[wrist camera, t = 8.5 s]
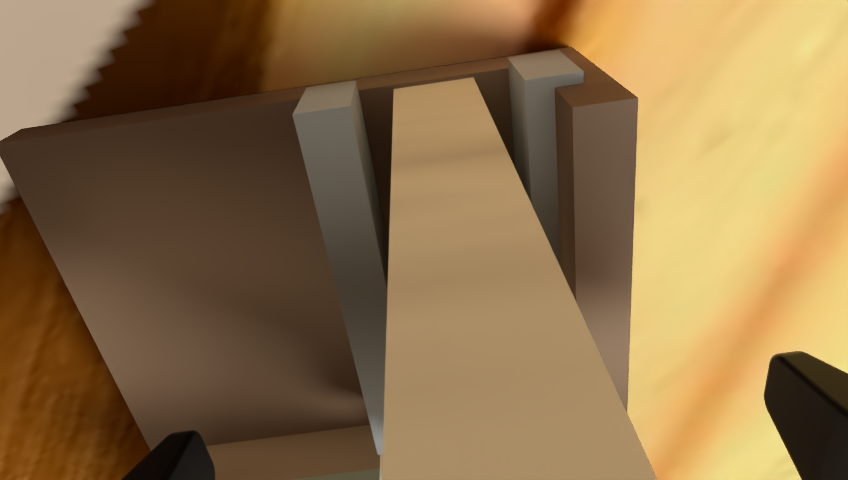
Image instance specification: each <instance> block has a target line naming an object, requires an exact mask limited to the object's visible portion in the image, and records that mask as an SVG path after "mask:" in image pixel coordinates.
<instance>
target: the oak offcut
mask: <svg viewBox="0 0 848 480" xmlns="http://www.w3.org/2000/svg"><path fill="white" fill-rule="evenodd" d="M206 448H207V450H208V452H209V454H210V457H211V459H212V461H213V464H214V468H215V480H292V479H300V478H307V477H315V476H323V475H331V474H339V473H347V472H355V471H363V470H371V469H378V468H380V471H381V475H382V458H383V455H378V454H377V450H376V446H375V442H374V438H373V434H372V430H371V426H370V425H365V426H358V427H350V428H342V429H334V430H327V431H319V432H311V433H303V434H296V435H288V436H280V437H273V438H265V439H257V440H249V441H242V442H234V443H226V444H219V445H211V446H206Z"/></svg>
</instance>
